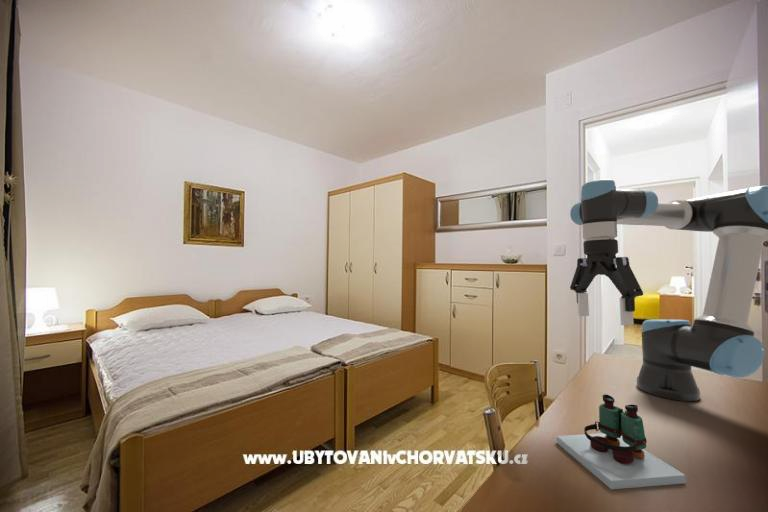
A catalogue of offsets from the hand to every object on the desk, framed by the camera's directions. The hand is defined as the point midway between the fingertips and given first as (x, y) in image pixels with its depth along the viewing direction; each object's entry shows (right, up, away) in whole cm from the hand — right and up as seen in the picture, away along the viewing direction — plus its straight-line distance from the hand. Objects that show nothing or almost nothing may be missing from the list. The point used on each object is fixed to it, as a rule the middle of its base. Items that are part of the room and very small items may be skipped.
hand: (603, 320), depth 82 cm
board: (-10, -26, -18) cm, 33 cm away
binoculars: (-10, -24, -18) cm, 32 cm away
